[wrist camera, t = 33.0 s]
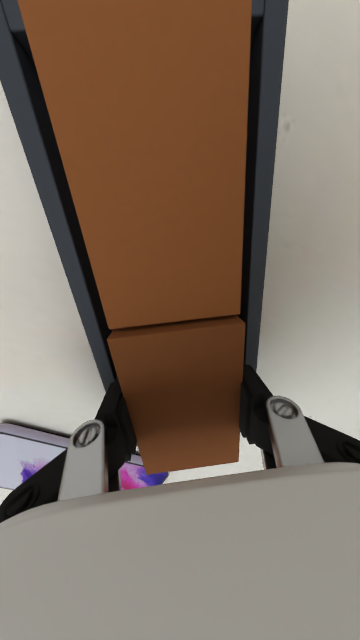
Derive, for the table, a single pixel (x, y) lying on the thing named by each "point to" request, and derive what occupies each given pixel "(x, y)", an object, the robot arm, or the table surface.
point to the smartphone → (40, 448)
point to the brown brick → (182, 390)
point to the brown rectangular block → (151, 146)
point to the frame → (50, 178)
